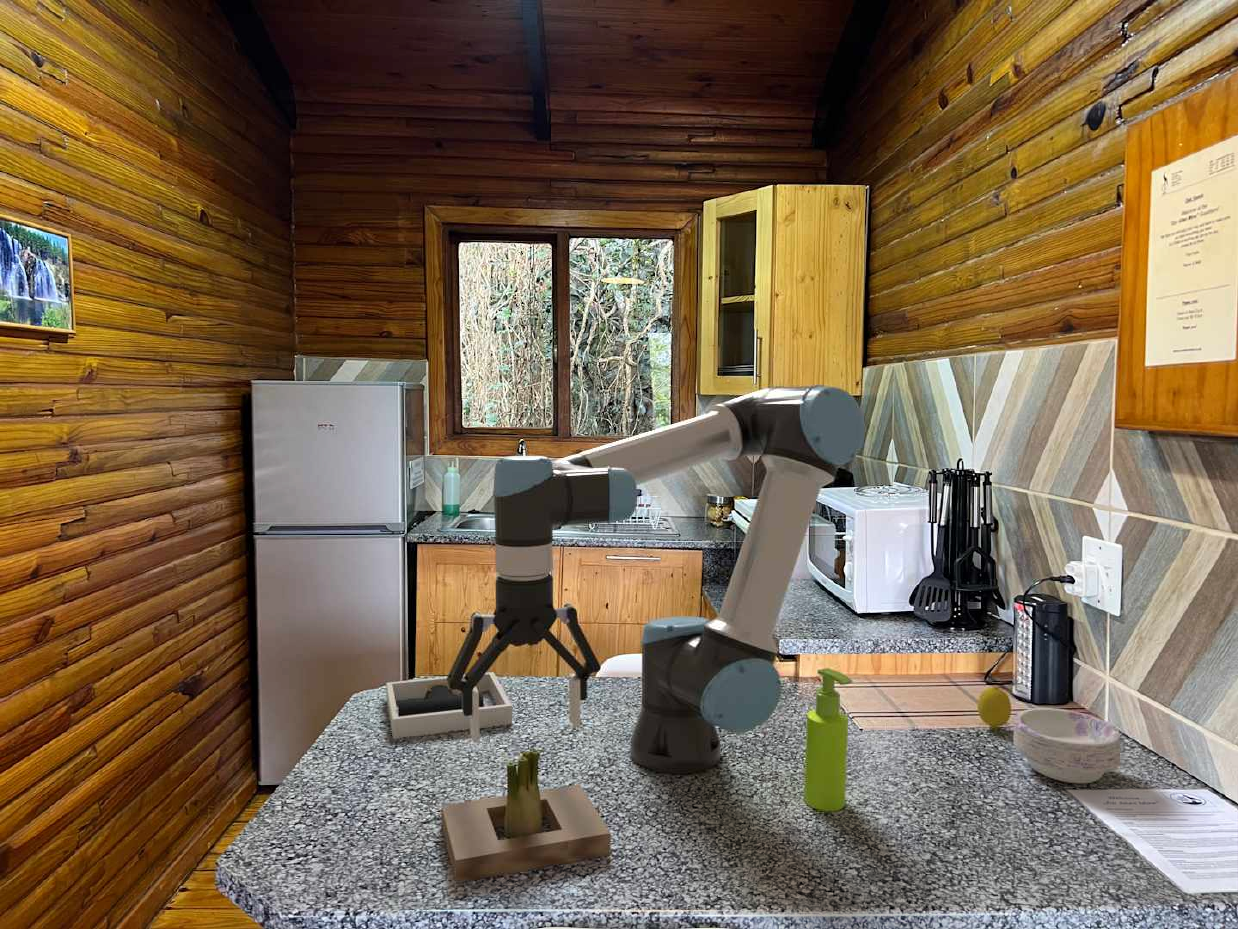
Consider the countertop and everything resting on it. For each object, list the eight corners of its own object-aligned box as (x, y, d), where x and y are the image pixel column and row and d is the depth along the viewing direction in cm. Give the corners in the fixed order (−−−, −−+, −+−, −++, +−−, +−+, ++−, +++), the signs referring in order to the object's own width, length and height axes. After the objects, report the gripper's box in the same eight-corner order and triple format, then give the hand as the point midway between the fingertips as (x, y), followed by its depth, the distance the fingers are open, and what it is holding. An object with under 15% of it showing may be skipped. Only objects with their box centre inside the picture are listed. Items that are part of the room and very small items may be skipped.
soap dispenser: (827, 818, 115) (832, 682, 113) (796, 796, 121) (800, 667, 119) (858, 809, 118) (863, 676, 116) (825, 788, 124) (830, 661, 122)
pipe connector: (398, 683, 152) (478, 677, 156) (398, 710, 153) (478, 703, 157) (398, 707, 141) (484, 700, 145) (398, 736, 142) (484, 728, 146)
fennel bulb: (508, 854, 105) (508, 765, 104) (496, 836, 109) (496, 750, 108) (549, 844, 107) (550, 757, 106) (536, 826, 112) (537, 743, 111)
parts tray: (493, 688, 164) (493, 672, 164) (512, 724, 146) (512, 705, 146) (386, 700, 157) (386, 682, 157) (393, 739, 140) (392, 719, 139)
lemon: (1009, 726, 149) (1011, 684, 148) (1010, 737, 144) (1012, 693, 143) (977, 720, 151) (979, 679, 150) (976, 731, 146) (978, 688, 145)
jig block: (579, 804, 118) (579, 784, 118) (610, 855, 105) (610, 833, 105) (441, 826, 111) (441, 805, 111) (455, 883, 98) (455, 860, 98)
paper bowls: (991, 759, 135) (993, 713, 134) (1054, 745, 141) (1057, 701, 140) (1074, 801, 121) (1077, 750, 120) (1140, 783, 127) (1144, 735, 126)
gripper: (605, 561, 113) (605, 708, 115) (423, 575, 105) (427, 732, 106) (623, 573, 106) (623, 728, 108) (430, 588, 98) (433, 756, 99)
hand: (525, 731), depth 107 cm, fingers open, 13 cm apart
